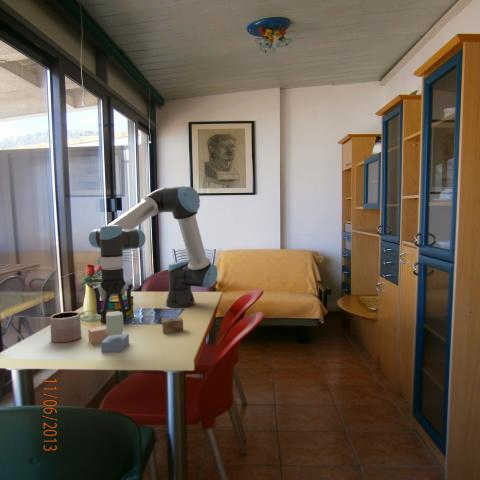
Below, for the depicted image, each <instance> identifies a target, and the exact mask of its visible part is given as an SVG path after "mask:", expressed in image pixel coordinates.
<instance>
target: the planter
mask: <svg viewBox="0 0 480 480" xmlns="http://www.w3.org/2000/svg"><path fill="white" fill-rule="evenodd" d="M81 323H82V322H81V313H80V312H78V311H62V312H57V313H54V314H52V315H50V316H49V324H50V340H51V341H52V342H53V343H55V344H57V343H58V344H65V343H70V342H74V341H76V340H79V339H80V338H81V337H82V327H81V325H82V324H81Z"/></svg>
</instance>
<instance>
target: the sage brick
mask: <svg viewBox="0 0 480 480" xmlns="http://www.w3.org/2000/svg"><path fill="white" fill-rule="evenodd" d="M107 314H108V324H109V336H111V335H118V334H123V332H122V315H121V313H120V311H115V312H107Z"/></svg>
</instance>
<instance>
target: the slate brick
mask: <svg viewBox="0 0 480 480" xmlns="http://www.w3.org/2000/svg"><path fill="white" fill-rule="evenodd" d="M129 336H130V335H129V333H122V334H118V335H111V336H108V337H106V338H105V339H104V340H103V341H102V342H101V343H100V347H101V348H100V352H101V353H102V354H105V353H106V354H107V353H113V354H114V353H116V354H117V353H118V354H119V353H122V352H123V351H124V350H125V349H126V348H127V346H128V345H129V344H130V337H129Z"/></svg>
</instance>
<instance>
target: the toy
mask: <svg viewBox="0 0 480 480" xmlns="http://www.w3.org/2000/svg"><path fill="white" fill-rule="evenodd" d="M122 298H123V302H124V306H125V308H126V307H127V299H126V295H125V296H122ZM103 304H104V299H103V300H102V299H100V309H101V311H102V309H103ZM115 311H120V312H122V310H121V306H120V303H119V299H118V296H117V295H113V296H110V297H109V302H108V307H107V312H115ZM107 312H106V314H107ZM134 317H135V312H134V295H131V310H130V311H128V312H126V321H125V322H123V324H124V323H126V322H127V321H129V320H130V319H132V318H134ZM100 323H102V315H100ZM102 324H103V323H102Z"/></svg>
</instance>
